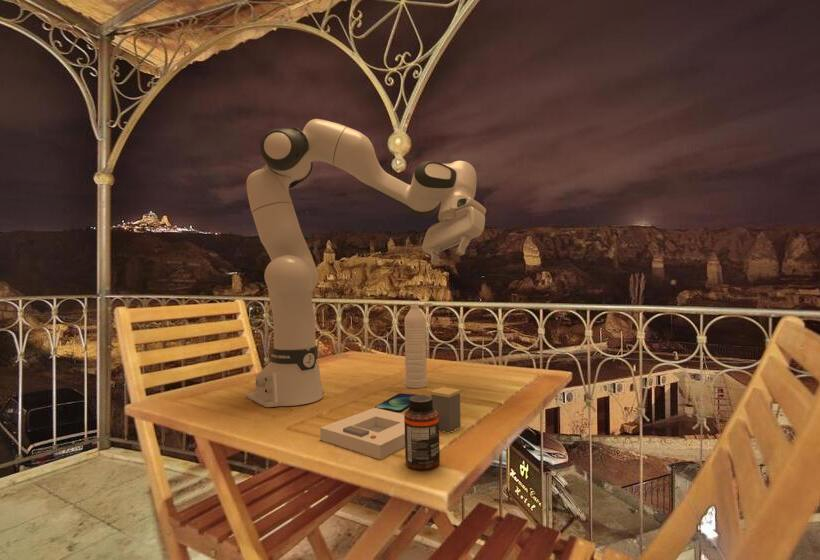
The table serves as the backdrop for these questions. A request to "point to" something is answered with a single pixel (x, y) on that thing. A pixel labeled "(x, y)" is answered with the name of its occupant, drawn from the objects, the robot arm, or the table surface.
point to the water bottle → (415, 347)
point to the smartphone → (396, 403)
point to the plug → (447, 408)
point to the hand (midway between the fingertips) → (447, 259)
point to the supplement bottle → (421, 433)
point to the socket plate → (368, 432)
